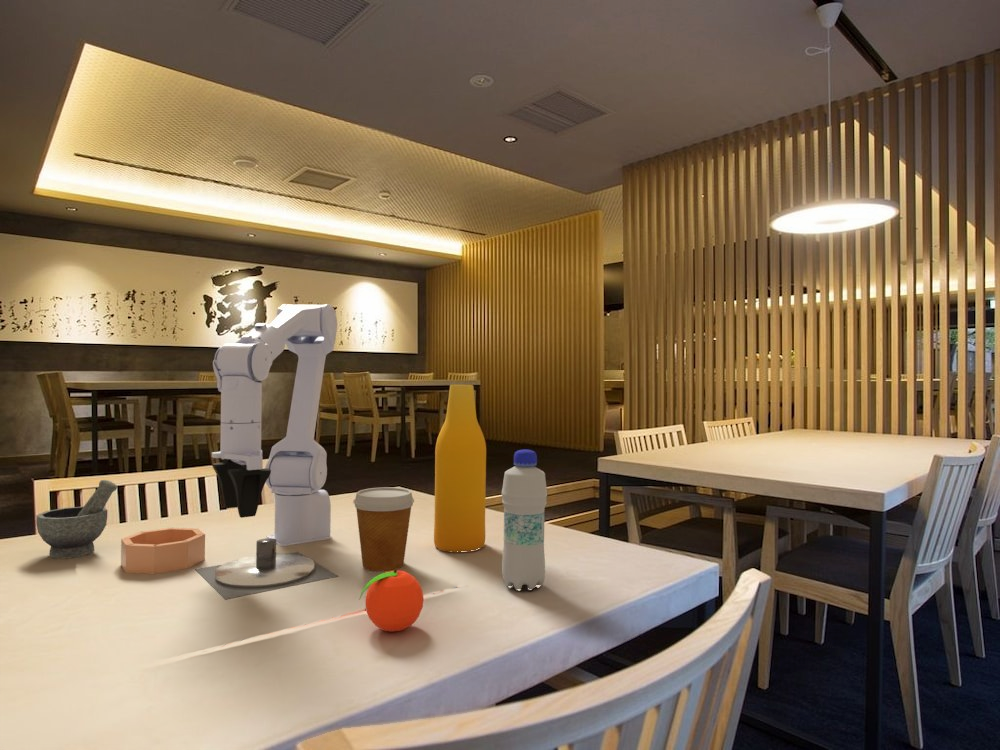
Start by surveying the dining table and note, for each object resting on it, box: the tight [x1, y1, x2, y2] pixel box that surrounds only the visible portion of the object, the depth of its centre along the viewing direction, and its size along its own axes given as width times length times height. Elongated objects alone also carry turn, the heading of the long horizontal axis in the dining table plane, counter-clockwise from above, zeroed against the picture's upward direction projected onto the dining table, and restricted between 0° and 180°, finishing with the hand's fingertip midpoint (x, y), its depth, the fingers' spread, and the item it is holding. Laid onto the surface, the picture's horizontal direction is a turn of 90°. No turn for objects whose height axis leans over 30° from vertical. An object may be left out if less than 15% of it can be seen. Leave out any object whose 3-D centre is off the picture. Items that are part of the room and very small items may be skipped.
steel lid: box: [215, 537, 315, 588], centre depth 93 cm, size 14×14×5 cm
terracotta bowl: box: [120, 527, 206, 575], centre depth 98 cm, size 11×11×4 cm
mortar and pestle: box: [35, 479, 118, 559], centre depth 104 cm, size 11×9×12 cm
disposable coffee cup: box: [352, 486, 415, 572], centre depth 98 cm, size 10×10×12 cm
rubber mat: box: [194, 551, 339, 601], centre depth 93 cm, size 16×16×1 cm
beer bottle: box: [433, 384, 487, 553], centre depth 111 cm, size 9×9×29 cm
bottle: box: [501, 449, 548, 590], centre depth 90 cm, size 7×7×20 cm
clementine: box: [358, 569, 425, 632], centre depth 74 cm, size 8×7×7 cm
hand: (240, 511), depth 94 cm, fingers open, 7 cm apart
